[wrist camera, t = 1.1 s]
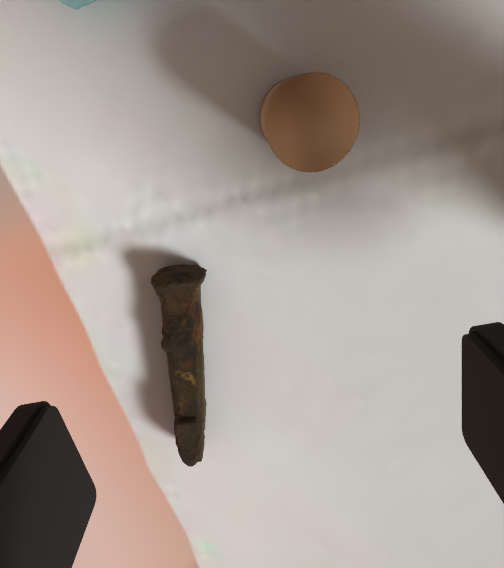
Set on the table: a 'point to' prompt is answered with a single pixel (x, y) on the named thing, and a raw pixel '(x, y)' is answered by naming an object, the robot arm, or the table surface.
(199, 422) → the hand tool
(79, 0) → the square hole plate
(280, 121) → the cylinder
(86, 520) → the robot arm
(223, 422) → the table surface
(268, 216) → the table surface
